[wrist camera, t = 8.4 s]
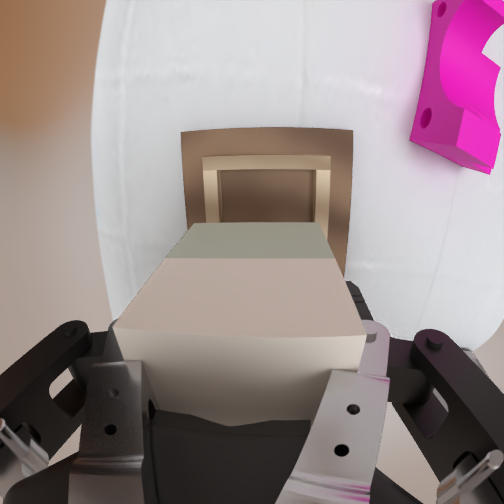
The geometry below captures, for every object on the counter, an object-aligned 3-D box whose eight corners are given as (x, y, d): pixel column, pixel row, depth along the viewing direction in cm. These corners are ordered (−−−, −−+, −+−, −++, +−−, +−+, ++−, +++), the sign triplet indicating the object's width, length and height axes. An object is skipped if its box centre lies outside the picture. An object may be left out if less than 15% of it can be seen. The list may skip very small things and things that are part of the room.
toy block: (461, 166, 21) (512, 182, 14) (408, 140, 21) (456, 146, 14) (481, 35, 15) (526, 22, 8) (431, 4, 15) (471, -23, 8)
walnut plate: (340, 279, 26) (345, 295, 23) (197, 278, 27) (189, 293, 24) (349, 130, 21) (358, 130, 18) (185, 132, 22) (174, 132, 19)
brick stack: (311, 325, 13) (327, 457, 7) (205, 323, 14) (165, 448, 7) (318, 222, 11) (367, 335, 5) (193, 223, 12) (112, 327, 5)
